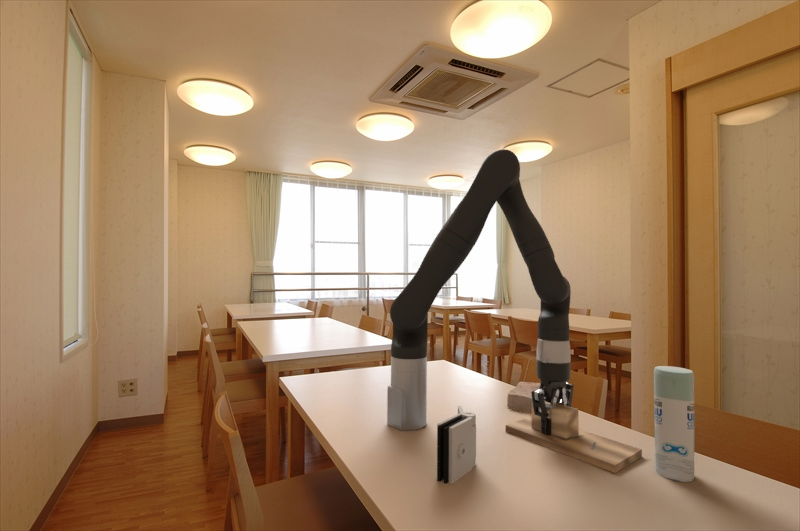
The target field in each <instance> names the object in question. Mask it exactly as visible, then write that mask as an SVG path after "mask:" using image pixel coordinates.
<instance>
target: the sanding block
mask: <svg viewBox="0 0 800 531" xmlns="http://www.w3.org/2000/svg"><path fill="white" fill-rule="evenodd" d="M545 403H546V404H551V403H548V402H546V401H545ZM538 408H539V407H538ZM539 411H540V408H539ZM547 411H548V408H547V407H546V413H547ZM531 416H532V429H535V430H538V431H541V417H540V416H537V415H535V414H534V408H533V403H532V412H531ZM550 419H551V434H550V435H552V436H555V437H558V438H561V439H564V440H566V441H567V440H569V439H571V438H574V437H576V436H578V435H579V430H580V429H579V426H580V425H579V408H577V407H573V406H571V407H570V406H566V405H560V404H557V403H556V405H555V409H552V415H551V418H550Z"/></svg>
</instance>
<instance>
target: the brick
mask: <svg viewBox="0 0 800 531" xmlns="http://www.w3.org/2000/svg"><path fill="white" fill-rule="evenodd" d="M540 384H541V382H532V381H531V382H528V381H519V382H518V383H517V384H516V386H514V387H513V388H512V389H511V390H509V392H508V393H507V397H506V398H507V399H506V400H507V403H506V405H507V406H506V408H508V409H511V410H518V411H522V412H527V413H532V403H533V401H532V394H531V393H532V391H533V390H535V391H537V390H539V389H540Z"/></svg>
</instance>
